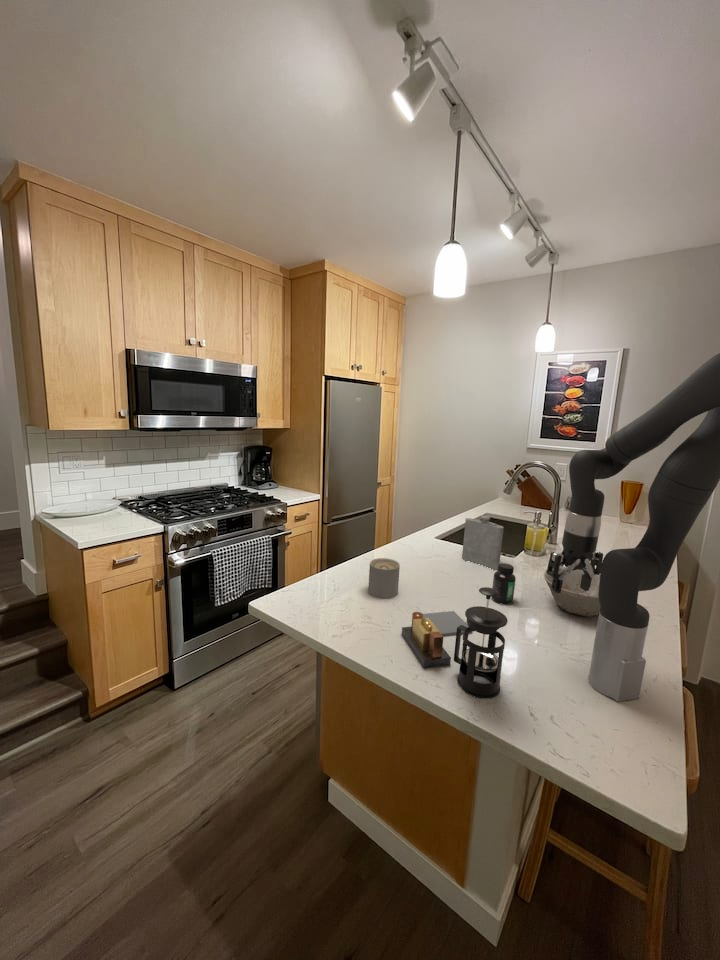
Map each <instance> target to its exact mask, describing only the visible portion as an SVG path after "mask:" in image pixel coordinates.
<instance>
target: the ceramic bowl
mask: <svg viewBox="0 0 720 960" xmlns="http://www.w3.org/2000/svg"><path fill="white" fill-rule="evenodd" d="M563 567H564V568H567V567H566V566H563ZM552 571H553V570H552ZM561 572H562V571H560V572H559V574H560V573H561ZM582 574H584V573H583V571H582V570H578V569H577V570H572V571H571V572H570V573H569V574H566V575H565V577H564V578H563V579H562V580H563V583H562V588H561V593H556V592H555V591H553V589H552V581H553V577H552V576H550V575H549V574H547V569H545V570H544V572H543V577H544V580H545V582H546V584H547V586H548V588H549V590H550V593H551V595H552V598H553V600H554V601H555V603H556V604H557V605H558V607H560V608H561V609H562V610H563V611H565V612H567V613H569V614H574V615H578V616H584V617H590V616H591V617H592V616H596V615H599V612H600V602H599V598H598V592H599V582H600V575H597V574H596V575H594V577H593V578H592V581H591V586H590V588H589V590H588V591H584V590H583V589H581V588H580V584H581V578H582Z"/></svg>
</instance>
